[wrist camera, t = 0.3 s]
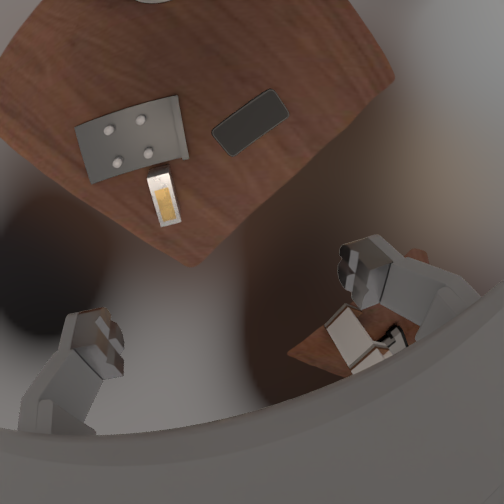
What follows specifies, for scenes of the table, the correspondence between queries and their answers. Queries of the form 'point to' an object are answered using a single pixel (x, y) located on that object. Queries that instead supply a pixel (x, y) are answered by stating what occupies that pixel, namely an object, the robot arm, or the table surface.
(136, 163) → the tray
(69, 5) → the table surface
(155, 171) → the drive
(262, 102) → the smartphone
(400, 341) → the game console
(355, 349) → the white tower box
